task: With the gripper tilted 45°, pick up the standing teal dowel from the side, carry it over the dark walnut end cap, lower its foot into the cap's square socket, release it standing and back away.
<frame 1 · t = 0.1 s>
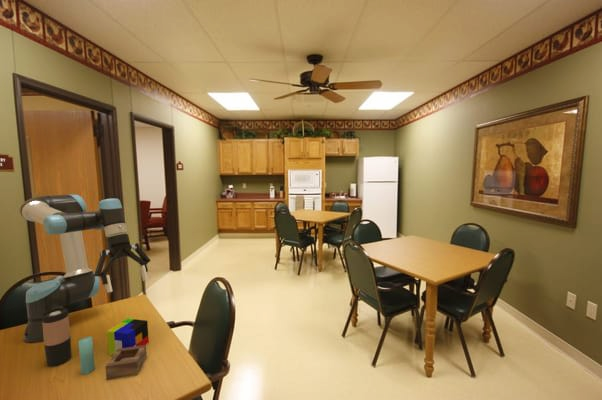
hand: (128, 286, 108), 28 cm above the table, tool tilted 20°, fingers open, 13 cm apart
puzzle toy: (129, 348, 113), on the table
travel mug: (59, 361, 105), on the table
teal dowel: (88, 370, 100), on the table
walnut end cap: (127, 367, 101), on the table
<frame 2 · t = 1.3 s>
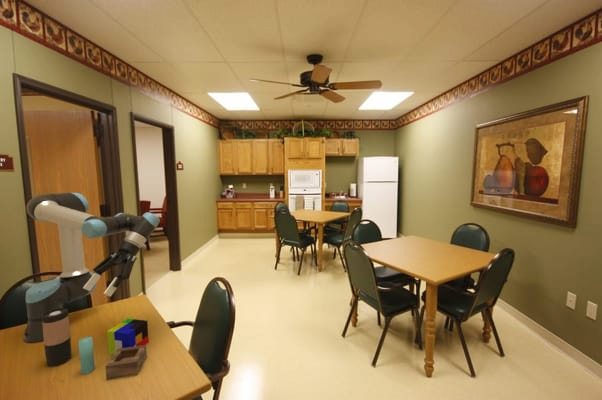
hand: (96, 292, 103), 28 cm above the table, tool tilted 45°, fingers open, 13 cm apart
nothing on the table moved.
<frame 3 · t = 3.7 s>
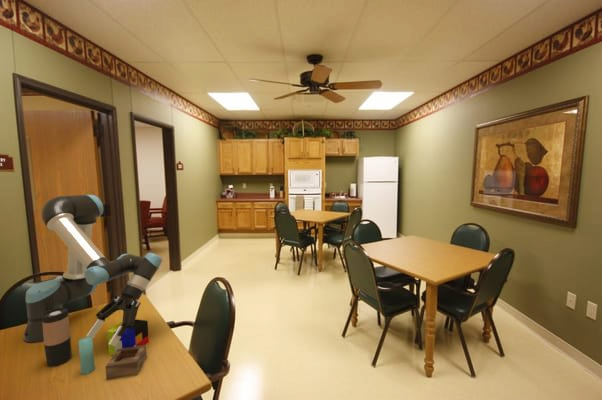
hand: (100, 341, 102), 9 cm above the table, tool tilted 45°, fingers open, 13 cm apart
nothing on the table moved.
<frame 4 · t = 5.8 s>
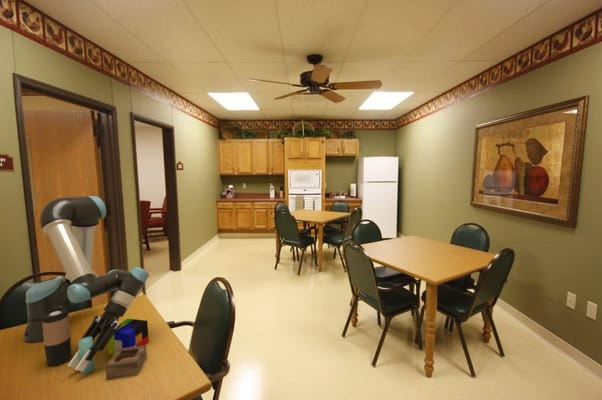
hand: (75, 368, 96), 3 cm above the table, tool tilted 45°, fingers closed on teal dowel, 4 cm apart
teal dowel: (87, 370, 100), on the table, touching gripper
everything else where it was.
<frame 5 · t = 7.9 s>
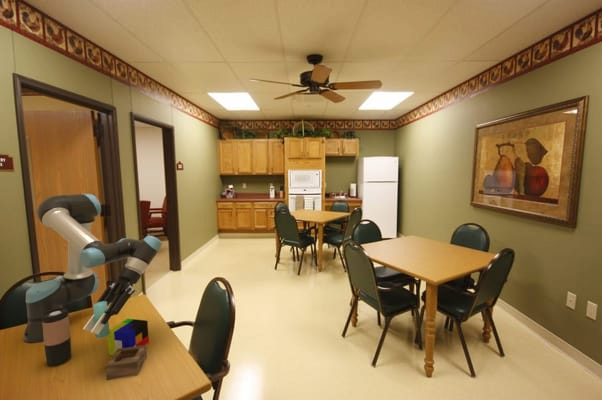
hand: (90, 331, 95), 17 cm above the table, tool tilted 45°, fingers closed on teal dowel, 4 cm apart
teal dowel: (102, 335, 98), point 14 cm above the table, touching gripper
everything else where it was.
when the fingers open (7 cm above the table, at t = 10.1 s): teal dowel drops 2 cm, resting on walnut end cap.
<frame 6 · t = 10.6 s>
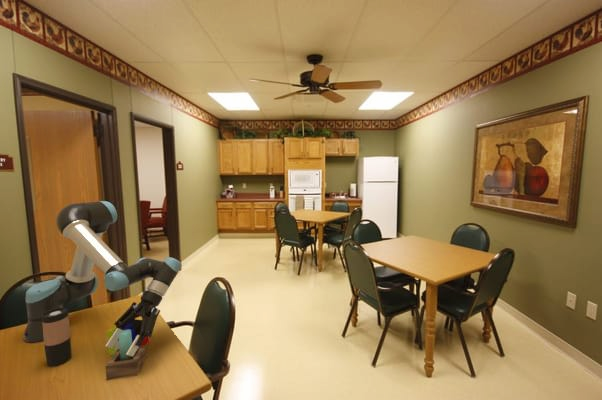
hand: (118, 351, 98), 8 cm above the table, tool tilted 45°, fingers open, 11 cm apart
teal dowel: (127, 362, 101), point 2 cm above the table, touching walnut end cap
everything else where it was.
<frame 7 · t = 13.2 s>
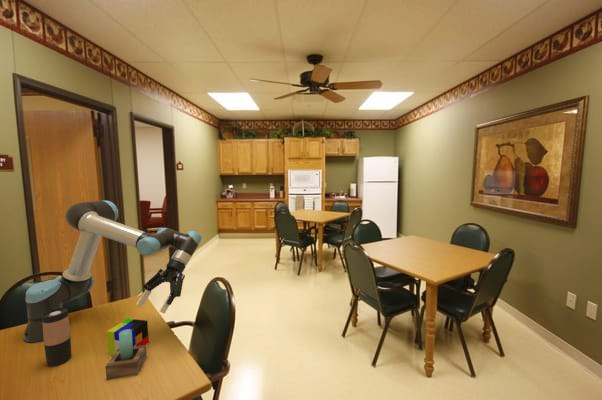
hand: (149, 309, 109), 18 cm above the table, tool tilted 45°, fingers open, 13 cm apart
nothing on the table moved.
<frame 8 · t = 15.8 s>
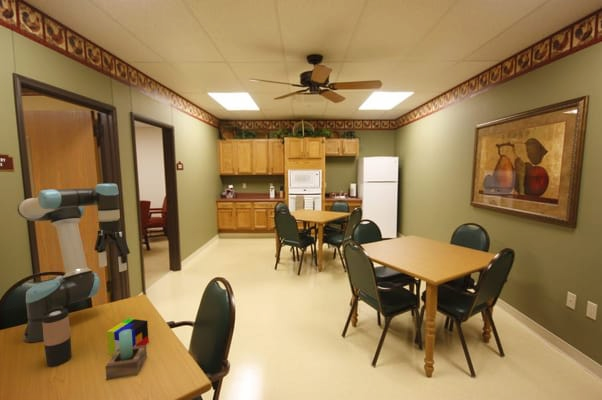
hand: (113, 268, 115), 33 cm above the table, tool pointing down, fingers open, 13 cm apart
nothing on the table moved.
at the end: teal dowel 0.1 cm off-centre on the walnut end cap, point 2.0 cm above the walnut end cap's base; teal dowel tilted 0°; the gripper is holding nothing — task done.
